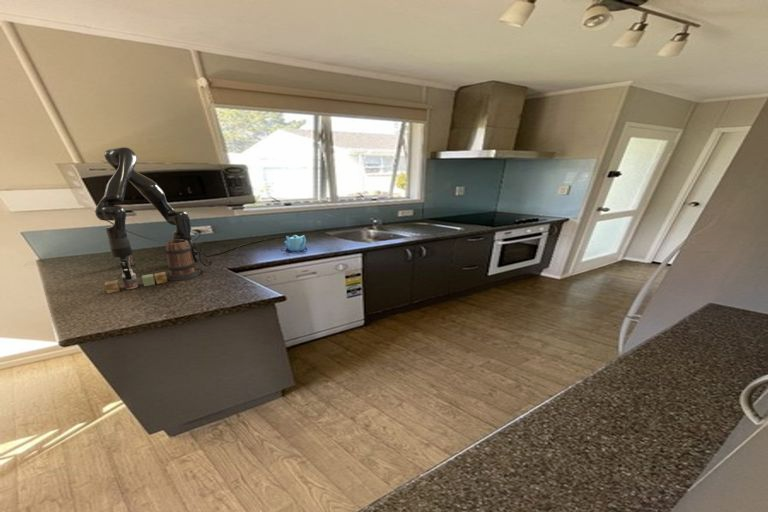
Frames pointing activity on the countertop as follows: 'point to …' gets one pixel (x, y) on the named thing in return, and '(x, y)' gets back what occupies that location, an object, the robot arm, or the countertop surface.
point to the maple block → (160, 277)
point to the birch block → (112, 286)
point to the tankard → (182, 260)
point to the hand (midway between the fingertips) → (129, 277)
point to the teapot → (295, 243)
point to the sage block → (148, 280)
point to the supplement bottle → (130, 259)
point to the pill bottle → (132, 282)
